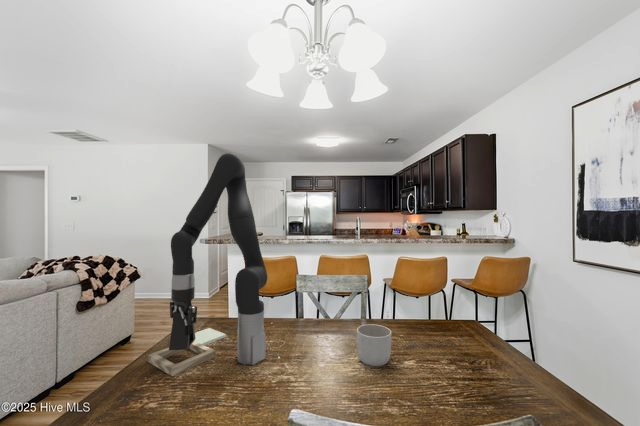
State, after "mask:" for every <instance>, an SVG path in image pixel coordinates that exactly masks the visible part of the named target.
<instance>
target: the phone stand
mask: <svg viewBox="0 0 640 426" xmlns="http://www.w3.org/2000/svg"><path fill="white" fill-rule="evenodd" d="M188 314H189V313H188ZM188 314H187V315H185V316H188ZM192 319H193V318H192ZM187 321H188V318H187ZM194 324H195V323H193V324H192V334H191V335H189V334H187V336H186V335H185V322H184V320H183V319H182V316H181V313H180V312H174V311H173V318H172V325H171V332H170V338H169V339H170V340H169V350H185V351H187V350H189V349H188V348H189V347H190V345H191V344H192V343H193V342H194V340H195V333H196V332H195V325H194Z"/></svg>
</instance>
